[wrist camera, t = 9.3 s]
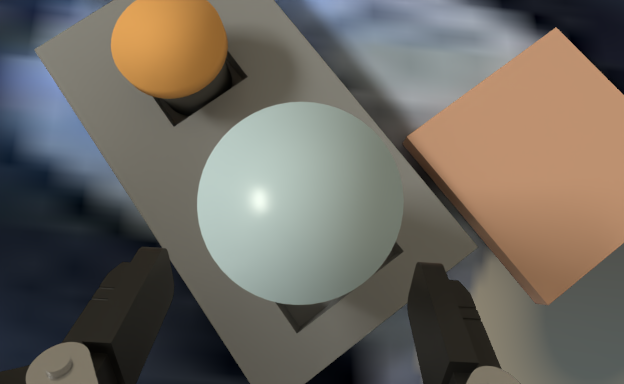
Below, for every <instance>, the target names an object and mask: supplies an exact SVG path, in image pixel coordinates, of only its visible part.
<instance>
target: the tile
mask: <svg viewBox="0 0 624 384" xmlns="http://www.w3.org/2000/svg"><path fill="white" fill-rule="evenodd" d="M403 145H404V146H405V148H406V149H407V150H408V151H409V152H410V154H411V155H412V156H413V157H414V158H415V160H416V161H417V162H418V163H419V164H420V166H421V167H422V168H423V169H424V170H425V172H426V173H427V174H428V175H429V176H430V178H431V179H432V180H433V181H434V182H435V184H436V185H437V186H438V187H439V188H440V190H441V191H442V192H443V193H444V194H445V196H446V197H447V198H448V199H449V200H450V202H451V203H452V204H453V205H454V206H455V208H456V209H457V210H458V211H459V212H460V214H461V215H462V216H463V217H464V218H465V220H466V221H467V222H468V223H469V224H470V226H471V227H472V228H473V229H474V230H475V232H476V233H477V234H478V235H479V236H480V238H481V239H482V240H483V241H484V242H485V244H486V245H487V246H488V247H489V248H490V250H491V251H492V252H493V253H494V254H495V256H496V257H497V258H498V259H499V260H500V262H501V263H502V264H503V265H504V266H505V268H506V269H507V270H508V271H509V272H510V274H511V275H512V276H513V277H514V278H515V280H516V281H517V282H518V283H519V284H520V285H521V287H522V288H523V289H524V290H525V291H526V293H527V294H528V295H529V296H530V298H531V299H532V300H533V301H534V302H535V303H536V304H543V305H549V304H550V303H552V302H553V301H554V300H555V299H556V298H557V297H559V296H560V295H561V294H563V293H564V292H565V291H566V290H567V289H569V288H570V287H571V286H572V285H573V284H575V283H576V282H577V281H578V280H579V279H581V278H582V277H583V276H584V275H586V274H587V273H588V272H589V271H590V270H591V269H593V268H594V267H595V266H596V265H597V264H599V263H600V262H601V261H602V260H604V259H605V258H606V257H607V256H608V255H610V254H611V253H612V252H613V251H615V250H616V249H617V248H618V247H619V246H621V245H622V244H623V243H624V95H623V94H622V93H621V92H620V91H619V90H618V89H617V88H616V87H615V86H614V85H613V84H612V83H611V82H610V81H609V80H608V79H607V78H606V77H605V76H604V75H603V74H602V73H601V72H600V71H599V70H598V69H597V68H596V67H595V66H594V65H593V64H592V63H591V62H590V61H589V60H588V59H587V58H586V57H585V56H584V55H583V54H582V53H581V52H580V51H579V50H578V49H577V48H576V47H575V46H574V45H573V44H572V43H571V42H570V41H569V40H568V39H567V38H566V37H565V36H564V35H563V34H562V33H561V32H560V31H559V30H558V29H557V28H555V29H553V30H552V31H550V32H549V33H548V34H546V35H545V36H544V37H542V38H541V39H540V40H538V41H537V42H535V43H534V44H533V45H531V46H530V47H529V48H527V49H526V50H525V51H523V52H522V53H520V54H519V55H518V56H516V57H515V58H514V59H512V60H511V61H509V62H508V63H507V64H505V65H504V66H503V67H501V68H500V69H499V70H497V71H496V72H494V73H493V74H492V75H490V76H489V77H488V78H486V79H485V80H483V81H482V82H481V83H479V84H478V85H477V86H475V87H474V88H473V89H471V90H470V91H468V92H467V93H466V94H464V95H463V96H462V97H460V98H459V99H458V100H456V101H455V102H453V103H452V104H451V105H449V106H448V107H447V108H445V109H444V110H442V111H441V112H440V113H438V114H437V115H436V116H434V117H433V118H432V119H430V120H429V121H427V122H426V123H425V124H423V125H422V126H421V127H419V128H418V129H416V130H415V131H414V132H412V133H411V134H410V135H408V136H407V137H406V139H405V140H404V142H403Z"/></svg>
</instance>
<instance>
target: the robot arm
mask: <svg viewBox="0 0 624 384" xmlns="http://www.w3.org/2000/svg"><path fill="white" fill-rule="evenodd" d="M173 294H174V280H173V275H172V270H171V264H170V259H169V254H168V250H167V249H166V248H154V247H141V248H140V249H139V250H138V251H137V253H136V255H135V256H134V258H133V259H132V261H131V263H129V262H122V263H121V264H119V265H118V266H117V267H116V268H114V269H113V270H112V271H110V272H109V273H108V274H107V276H106V277H105V279H104V280H103V282H102V283H101V285H100V286H99V289H97V291H96V292H95V294H94V295H93V297H92V300H90V301H89V303H88V304H87V306H86V307H85V309H84V310H83V312H82V313H81V315H80V316H79V318H78V319H77V321H76V322H75V324H74V325H73V327H72V328H71V330H70V331H69V333H68V334H67V336H66V337H65V339H64V340H63V342H62V343H61V344H58V345H55V346H53V347H51V348H49V349H47V350H46V351H44V352H43V353H41V354H40V355H39V356H38V357H37V358H36V359H35V360H34V361H33V362H32V363H31V365H28V366H24V367H21V368H16V369H12V370H7V371H2V372H0V384H136V382H137V380H138V377H139V375H140V373H141V371H142V368H143V366H144V364H145V361H146V359H147V357H148V354H149V352H150V350H151V348H152V345H153V343H154V341H155V338H156V336H157V334H158V332H159V329H160V327H161V325H162V322H163V320H164V318H165V315H166V313H167V311H168V309H169V306H170V304H171V301H172V298H173ZM408 316H409V320H410V325H411V329H412V334H413V338H414V343H415V347H416V352H417V356H418V361H419V365H420V370H421V374H422V379H423V384H520V382H519V381H518V380H517V379H516V378H515V377H513V376H512V375H511V374H509V373H508V372H506V371H504V370H502V369H501V367H500V364H499V362H498V360H497V357H496V355H495V352H494V350H493V347H492V345H491V343H490V340H489V338H488V335H487V333H486V330H485V328H484V326H483V324H482V322H481V318H480V316H479V314H478V311H477V310H476V306H475V304H474V301H473V299H472V297H471V294H470V293H469V292H468V290H467V289H466V288H465V287H464V286H463V285H462V284H461V283H460V282H459V281H457V280H449V279H448V277H447V274H446V271H445V268H444V266H443V264H441V263H428V262H417V264H416V266H415V270H414V274H413V278H412V282H411V286H410V290H409V294H408Z"/></svg>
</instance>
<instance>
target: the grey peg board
mask: <svg viewBox="0 0 624 384" xmlns="http://www.w3.org/2000/svg"><path fill="white" fill-rule="evenodd" d="M134 1H136V0H113V1H111V2H110V3H108V4H107V5H105V6H103V7H102V8H100V9H99V10H97V11H95V12H94V13H92V14H91V15H89V16H87V17H86V18H84V19H83V20H81V21H79V22H78V23H76V24H75V25H73V26H71V27H70V28H68V29H67V30H65V31H63V32H62V33H60V34H59V35H57V36H55V37H54V38H52V39H51V40H49V41H47V42H46V43H44V44H43V45H41V46H39V47H38V48H36V49H35V52H36V53H37V55H38V56H39V58H40V59H41V61H42V62H43V64H44V66H45V67H46V69H47V70H48V72H49V73H50V75H51V76H52V78H53V79H54V81H55V83H56V84H57V86H58V87H59V89H60V90H61V92H62V93H63V95H64V96H65V98H66V100H67V101H68V103H69V104H70V106H71V107H72V109H73V110H74V112H75V113H76V115H77V117H78V118H79V120H80V121H81V123H82V124H83V126H84V127H85V129H86V130H87V132H88V134H89V135H90V137H91V138H92V140H93V141H94V143H95V144H96V146H97V147H98V149H99V151H100V152H101V154H102V155H103V157H104V158H105V160H106V161H107V163H108V164H109V166H110V168H111V169H112V171H113V172H114V174H115V175H116V177H117V178H118V180H119V181H120V183H121V185H122V186H123V188H124V189H125V191H126V192H127V194H128V195H129V197H130V198H131V200H132V202H133V203H134V205H135V206H136V208H137V209H138V211H139V212H140V214H141V215H142V217H143V219H144V220H145V222H146V223H147V225H148V226H149V228H150V229H151V231H152V232H153V234H154V236H155V237H156V239H157V240H158V242H159V243H160V245H161V246H162V248H166V249H167V250H168V254H169V259H170V260H171V262H172V263H173V265H174V266H175V268H176V270H177V271H178V273H179V274H180V276H181V277H182V279H183V280H184V282H185V283H186V285H187V287H188V288H189V290H190V291H191V293H192V294H193V296H194V297H195V299H196V300H197V302H198V304H199V305H200V307H201V308H202V310H203V311H204V313H205V314H206V316H207V317H208V319H209V321H210V322H211V324H212V325H213V327H214V328H215V330H216V331H217V333H218V334H219V336H220V338H221V339H222V341H223V342H224V344H225V345H226V347H227V348H228V350H229V351H230V353H231V355H232V356H233V358H234V359H235V361H236V362H237V364H238V365H239V367H240V368H241V370H242V372H243V373H244V375H245V376H246V378H247V379H248V381H249V382H250V384H305V383H306V382H308V381H309V380H310V379H311V378H313V377H314V376H315V375H316V374H318V373H319V372H320V371H322V370H323V369H324V368H325V367H327V366H328V365H329V364H330V363H332V362H333V361H334V360H336V359H337V358H338V357H339V356H341V355H342V354H343V353H344V352H346V351H347V350H348V349H350V348H351V347H352V346H353V345H355V344H356V343H357V342H358V341H360V340H361V339H362V338H364V337H365V336H366V335H367V334H369V333H370V332H371V331H372V330H374V329H375V328H376V327H377V326H379V325H380V324H381V323H383V322H384V321H385V320H386V319H388V318H389V317H390V316H391V315H393V314H394V313H395V312H397V311H398V310H399V309H400V308H402V307H403V306H404V305H405V304H407V303H408V294H409V290H410V286H411V282H412V278H413V274H414V270H415V266H416V264H417V262H428V263H441V264H443V266H444V268H445V271H446V272H447V271H449V270H450V269H451V268H452V267H454V266H455V265H456V264H458V263H459V262H460V261H461V260H463V259H464V258H465V257H466V256H468V255H469V254H470V253H472V252H473V251H474V250H475V249H477V248H478V246H477V245H476V244H475V243H474V241H473V240H472V239H471V238H470V237H469V235H468V234H467V233H466V232H465V231H464V229H463V228H462V227H461V226H460V225H459V223H458V222H457V221H456V220H455V218H454V217H453V216H452V215H451V214H450V212H449V211H448V210H447V209H446V208H445V206H444V205H443V204H442V203H441V202H440V200H439V199H438V198H437V197H436V196H435V194H434V193H433V192H432V191H431V189H430V188H429V187H428V186H427V185H426V183H425V182H424V181H423V180H422V179H421V177H420V176H419V175H418V174H417V173H416V171H415V170H414V169H413V168H412V167H411V165H410V164H409V163H408V162H407V160H406V159H405V158H404V157H403V156H402V154H401V153H400V152H399V151H398V150H397V148H396V147H395V146H394V145H393V144H392V142H391V141H390V140H389V139H388V138H387V136H386V135H385V134H384V133H383V131H382V130H381V129H380V128H379V127H378V125H377V124H376V123H375V122H374V121H373V119H372V118H371V117H370V116H369V115H368V113H367V112H366V111H365V110H364V109H363V107H362V106H361V105H360V104H359V102H358V101H357V100H356V99H355V98H354V96H353V95H352V94H351V93H350V92H349V90H348V89H347V88H346V87H345V86H344V84H343V83H342V82H341V81H340V80H339V78H338V77H337V76H336V75H335V73H334V72H333V71H332V70H331V69H330V67H329V66H328V65H327V64H326V63H325V61H324V60H323V59H322V58H321V57H320V55H319V54H318V53H317V52H316V51H315V49H314V48H313V47H312V46H311V44H310V43H309V42H308V41H307V40H306V38H305V37H304V36H303V35H302V34H301V32H300V31H299V30H298V29H297V28H296V26H295V25H294V24H293V23H292V22H291V20H290V19H289V18H288V17H287V15H286V14H285V13H284V12H283V11H282V9H281V8H280V7H279V6H278V5H277V3H276V2H275V1H274V0H207V1H208V2H209V3H210V4H211V5H212V6H213V7H214V8H215V9H216V11H217V12H218V14H219V16H220V18H221V21H222V23H223V26H224V28H225V31H226V35H227V40H228V50H227V56H226V60H225V61H226V63H227V65H228V68H229V70H230V73H231V77H232V86H231V89H229V90H228V91H226V92H225V93H223V94H222V95H220V96H219V97H217V98H216V99H214V100H213V101H211V102H210V103H209V104H207V105H206V106H204V107H203V108H201V109H200V110H198V111H197V112H195V113H194V114H192V115H191V116H186V115H182V114H180V113H178V112H176V111H174V110H173V109H172V108H171V107H170V106H169V105H168V104H167V103H166V102H165V101H164V100H163V99H162V98H157V97H153V96H150V95H147V94H145V93H143V92H141V91H140V90H138V89H137V88H136V87H135V86H134V85H132V84H131V83H130V82H129V81H128V80H127V79H126V78H125V77H124V76H123V75H122V73H121V72H120V71H119V69H118V68H117V66H116V64H115V62H114V59H113V56H112V52H111V38H112V33H113V30H114V27H115V24H116V22H117V20H118V19H119V17H120V16H121V14H122V13H123V12H124V11H125V9H126V8H127V7H128V6H130V5H131V4H132V3H133V2H134ZM288 102H315V103H320V104H325V105H329V106H332V107H336V108H339V109H341V110H343V111H345V112H348V113H350V114H352V115H353V116H355V117H356V118H358V119H360V120H361V121H363V122H364V123H365V124H366V125H367V126H369V127H370V128H371V129H372V130H373V131H374V132H375V133H376V134H377V135H378V136H379V137H380V138H381V139H382V141H383V142H384V144H385V145H386V146H387V148H388V149H389V151H390V153H391V155H392V157H393V158H394V160H395V163H396V165H397V168H398V171H399V174H400V178H401V182H402V187H403V197H404V204H403V217H402V222H401V227H400V230H399V233H398V237H397V240H396V242H395V244H394V246H393V248H392V250H391V252H390V254H389V255H388V257H387V258H386V260H385V261H384V263H383V264H382V265H381V266H380V268H379V269H378V270H377V271H376V272H375V273H374V274H373V275H372V276H371V277H370V278H369V279H368V280H366V281H365V282H364V283H363V284H361V285H360V286H358V287H357V288H355V289H354V290H352V291H351V292H349V293H347V294H345V295H342V296H340V297H338V298H335V299H332V300H329V301H326V302H321V303H316V304H307V305H292V304H282V303H277V302H273V301H269V300H266V299H264V298H261V297H258V296H256V295H254V294H252V293H250V292H248V291H247V290H245V289H243V288H242V287H240V286H239V285H238V284H236V283H235V282H234V281H232V280H231V279H230V278H229V277H228V276H227V275H226V274H225V273H224V272H223V271H222V270H221V269H220V267H219V266H218V265H217V263H216V262H215V261H214V259H213V258H212V256H211V254H210V252H209V251H208V249H207V247H206V244H205V242H204V239H203V237H202V234H201V230H200V226H199V221H198V213H197V195H198V188H199V182H200V179H201V175H202V172H203V169H204V167H205V165H206V162H207V160H208V158H209V156H210V154H211V153H212V151H213V149H214V148H215V146H216V145H217V144H218V142H219V141H220V140H221V139H222V137H223V136H224V135H225V134H226V133H227V132H228V131H229V130H230V129H231V128H232V127H234V126H235V125H236V124H238V123H239V122H240V121H241V120H243V119H245V118H246V117H248V116H250V115H251V114H253V113H255V112H257V111H260V110H262V109H264V108H267V107H271V106H274V105H277V104H283V103H288Z"/></svg>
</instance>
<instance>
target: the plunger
mask: <svg viewBox="0 0 624 384" xmlns="http://www.w3.org/2000/svg"><path fill="white" fill-rule="evenodd" d="M227 50H228V40H227V35H226V31H225V28H224V26H223V23H222V21H221V18H220V16H219V14H218V12H217V11H216V9H215V8H214V7H213V6H212V5H211V4H210V3H209V2H208V1H207V0H136V1H134V2H133V3H132V4H131V5H130V6H128V7H127V8H126V9H125V11H124V12H123V13H122V14H121V16H120V17H119V19H118V20H117V22H116V24H115V27H114V30H113V33H112V38H111V52H112V56H113V59H114V62H115V64H116V66H117V68H118V69H119V71H120V72H121V73H122V75H123V76H124V77H125V78H126V79H127V80H128V81H129V82H130V83H131V84H132V85H134V86H135V87H136V88H137V89H138V90H140V91H141V92H143V93H145V94H147V95H150V96H153V97H157V98H162V99H163V100H164V101H165V102H166V103H167V104H168V105H169V106H170V107H171V108H172V109H173V110H174V111H176V112H178V113H180V114H182V115H186V116H191V115H192V114H194V113H195V112H197V111H198V110H200V109H201V108H203V107H204V106H206V105H207V104H209V103H210V102H211V101H213V100H214V99H216V98H217V97H219V96H220V95H222V94H223V93H225V92H226V91H228V90H229V89H231V86H232V77H231V73H230V70H229V68H228V65H227V63H226V61H225V60H226V56H227Z"/></svg>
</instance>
